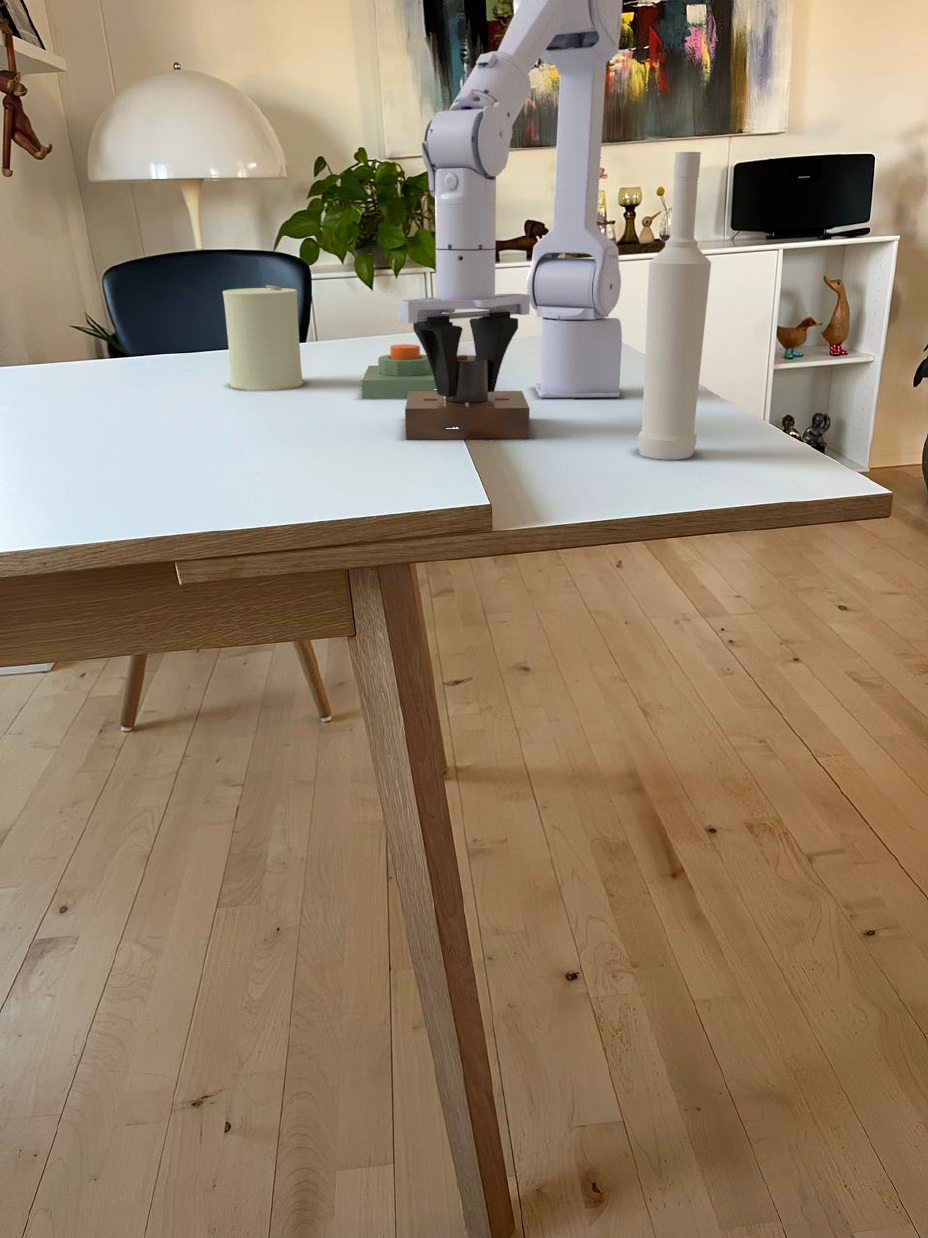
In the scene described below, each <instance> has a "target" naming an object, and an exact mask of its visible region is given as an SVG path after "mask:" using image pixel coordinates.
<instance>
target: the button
mask: <svg viewBox="0 0 928 1238" xmlns="http://www.w3.org/2000/svg"><path fill="white" fill-rule="evenodd" d="M389 349H390V351H389V352H390V354H389V355H391V359H396V360H412V359H420V354H421V347H420V345H418V344H406V343H403V344H392V345H390V346H389Z"/></svg>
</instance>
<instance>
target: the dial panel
mask: <svg viewBox="0 0 928 1238" xmlns="http://www.w3.org/2000/svg"><path fill="white" fill-rule="evenodd" d="M404 421H405V423H404V424H405V440H513V439H514V440H515V439H516V440H521V439H522V440H523V439H524V440H525V439H526V440H527V439H530V407H529V404H528V402H527V400H526V397H525V394H524V392H523V390H494V392H488V399H487V400H485V401H481V402H468V403H464V402H451V401H447V400H445V396H441V395H438V394H437V391H409V392H408V397H407V398H406V403H405V408H404ZM453 427H455V428H456V427H458V428H459V429H446V428H453Z"/></svg>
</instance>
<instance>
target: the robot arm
mask: <svg viewBox="0 0 928 1238" xmlns="http://www.w3.org/2000/svg"><path fill="white" fill-rule="evenodd" d="M512 4H513V16H512V18H511V21H510V22H509V25H508V27H507V29H506V31H505V34H504V36H503V38H502V39H501V40H502V41H501V43H500V44H499V47H498V49H497V50H494V51H489V52H487V53H481V54H480V55H479V57H478V58H477V60H476V61H475V65H474V68H473V69H472V70H471V73H470V74H469V76H468V77H467V79H466V80H465V82H464V84H463V86H462V87H461V89H460V91H459V92H458V93H457V95H456V97H455V99H454V101H453V102H452V104H451V106H450V107H449V109H448V110H442V111H438V112H437V113H436V114H435V115H434V116H433V117H432V118H431V119H430V120H429V121H428V122H427V124H426V126H425V129H424V132H423V141H422V142H421V143H420V150H421V156H422V160H423V163H424V166H425V170H426V172H427V175H428V190H429V191H430V196H431V197H433V198H434V201H435V202H434V209H435V210H434V213H435V217H434V220H435V221H434V222H435V281H436V283H435V285H436V288H435V291H436V292H435V293H436V294H435V295H436V296H429V297H421V298H412V299H404V300H403V299H402V300H397V302H396V305H397V322H398V323H406V324H412V326H413V332H414V333H415V335H416V337H417V338H418V340H419V342H420V345H421V347H422V348H423V351H424V352H425V355H427V358H428V360H429V363H430V366H431V369H432V373H433V376H434V380H435V384H436V389H437V394H438V395H441V396H446V397H454V395H455V389H456V359H457V356H458V351H459V345H460V340H461V337H462V332H463V329H464V328H463V327H462V326H460V325H454V324H453V321H451V320H457V319H458V320H459V319H460V320H461V319H469V321H468V322H469V324H470V329H471V333H472V338H473V344H474V352H475V356H484V357H487V358H488V392H494V391H496V385H497V382H498V377H499V374H500V370H501V367H502V363H503V360H504V357H505V355H506V352H507V349H508V348H509V345H510V343H511V341H512V339H513V337H514V336H515V334H516V333H517V331H518V329H519V318H516V317H511V316H513V315H514V316H515V315H518V316H526V315H530V312H531V311H530V307H532V309H533V310H534V311H536V317H537V318H541V344H540V345H541V347H540V348H541V349H540V352H541V353H540V382H539V383H534V389H535V390H536V392H537V394H538V396H539V398H543V399H546V398H548V399H549V398H553V399H554V398H620V397H621V393H620V381H621V364H622V363H621V362H622V346H623V345H622V344H623V336H622V335H623V333H622V323H621V320H620V319H619V318H617V317H610V314H611V312H613V310H614V309H615V307H616V306H617V304H618V301H619V299H620V295H621V287H622V276H621V271H620V263H619V260H620V259H619V258H620V255H619V254H620V252H619V248H618V246H617V245H616V243H614V242H613V240H611V239H610V238H609V237H608V236H607V235H606V234H605V233H604V232H602V231H601V229H599V227H598V225H597V224H598V223H597V222H598V209H599V208H598V206H599V191H600V175H601V173H600V172H601V159H602V158H601V157H602V143H603V142H602V141H603V125H604V124H603V123H604V122H603V121H604V109H605V108H604V106H605V91H606V74H607V73H606V72H607V63H608V62H609V61H611V60H612V59H613V58H614V57H615V56H617V55H618V53H619V46H620V40H621V30H622V29H621V28H622V15H623V14H622V13H623V0H513V3H512ZM539 59H541V60H542V61H543V62H546V63H548V64H550V65H553V66H554V67H555V69H556V70H557V73H558V75H559V87H558V108H557V109H558V111H557V133H556V149H555V150H556V155H555V174H554V175H555V176H554V194H553V195H554V197H553V218H552V221H553V222H552V228H551V229H550V230H549V231H548V232H547V233H546V234H545V235H544V236H543V237H542V238H540V239H539V240H538V241H537V242H536V243H535V244H534V245H533V247H532V255H531V256H532V257H531V263H530V268H529V270H528V273H527V278H526V293H497V294H496V234H497V233H496V226H497V223H496V222H497V221H496V220H497V217H496V216H497V215H496V214H497V212H496V211H497V207H496V206H497V177H498V176H499V175H500V174H501V173H502V172H503V171H504V169H506V167H507V164H508V159H509V154H510V144H511V140H512V138H513V133H514V131H513V128H512V127H513V125H514V124H515V122H516V120H517V118H518V116H519V114H520V112H521V111H522V109H523V107H524V105H525V103H526V102H527V100H528V98H529V97H530V93H531V90H532V82H531V78H530V74H529V73H530V72H531V71H532V70H533V68H534V67H535V65H536V63H538V61H539ZM563 254H564V255H565V254H586V255H590V256H591V257H592V258H587V257H586V258H583V257H559V256H561V255H563ZM530 305H531V306H530ZM474 309H475V310H476V309H477V310H478V311H475V310H474ZM456 310H474V311H463V312H461V311H460V312H456Z"/></svg>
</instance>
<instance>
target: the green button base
mask: <svg viewBox="0 0 928 1238" xmlns="http://www.w3.org/2000/svg"><path fill="white" fill-rule="evenodd" d="M360 381H361V399H362V400H367V399H370V400H371V399H372V400H374V399H375V400H377V399H379V400H381V399H382V400H383V399H384V400H385V399H386V400H387V399H388V400H390V399H407V397H408V392H409V391H437V390H434V389H436V384H435V380H434V376H433V373H432V369H431V366H430V363H429V360H428V358H427V355H426V354H421V353H420V359H412V360H396V359H391V354H385V355H380V356H378V365H368V366H367V368H366V370H365V372H364V374H363V376H362V378H361V380H360Z"/></svg>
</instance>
